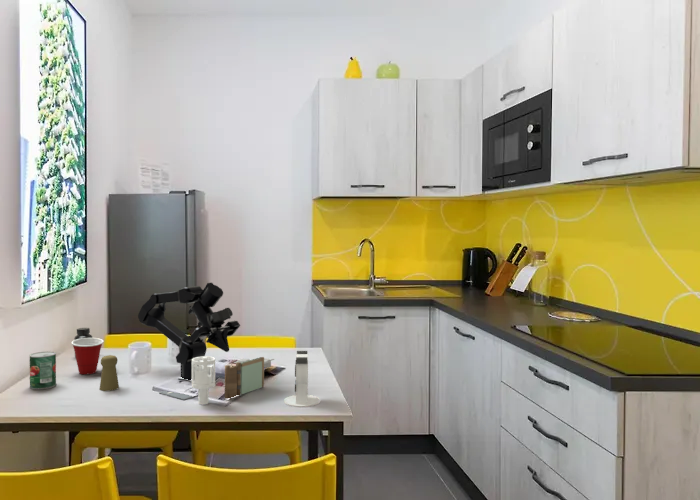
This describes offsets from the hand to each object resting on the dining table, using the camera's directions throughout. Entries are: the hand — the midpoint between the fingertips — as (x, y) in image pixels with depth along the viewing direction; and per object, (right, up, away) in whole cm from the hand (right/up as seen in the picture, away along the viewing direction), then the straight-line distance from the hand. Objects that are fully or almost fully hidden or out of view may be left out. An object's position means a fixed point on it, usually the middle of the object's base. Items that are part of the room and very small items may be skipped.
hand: (227, 351), depth 192 cm
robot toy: (+4, -12, +23) cm, 26 cm away
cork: (-39, -12, -2) cm, 41 cm away
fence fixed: (+4, -13, -11) cm, 17 cm away
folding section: (+9, -12, -4) cm, 16 cm away
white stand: (+26, -14, -13) cm, 32 cm away
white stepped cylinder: (-4, -13, -17) cm, 22 cm away
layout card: (-13, -13, -7) cm, 20 cm away
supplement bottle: (-68, -10, +40) cm, 79 cm away
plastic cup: (-55, -11, +17) cm, 59 cm away
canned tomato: (-62, -12, -1) cm, 63 cm away
